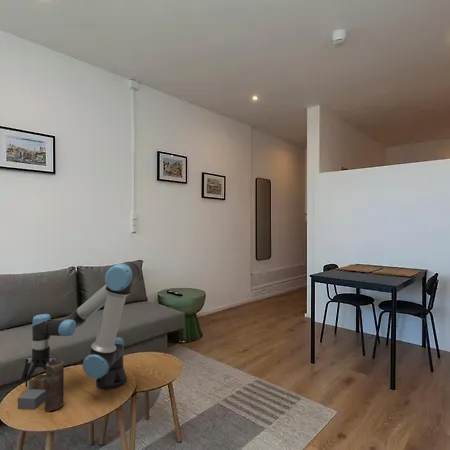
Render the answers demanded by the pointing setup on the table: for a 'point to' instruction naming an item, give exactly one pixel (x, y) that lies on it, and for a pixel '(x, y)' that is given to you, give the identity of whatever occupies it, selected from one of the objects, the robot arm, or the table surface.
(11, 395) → the table surface
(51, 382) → the candle
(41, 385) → the walnut block
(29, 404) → the base block
